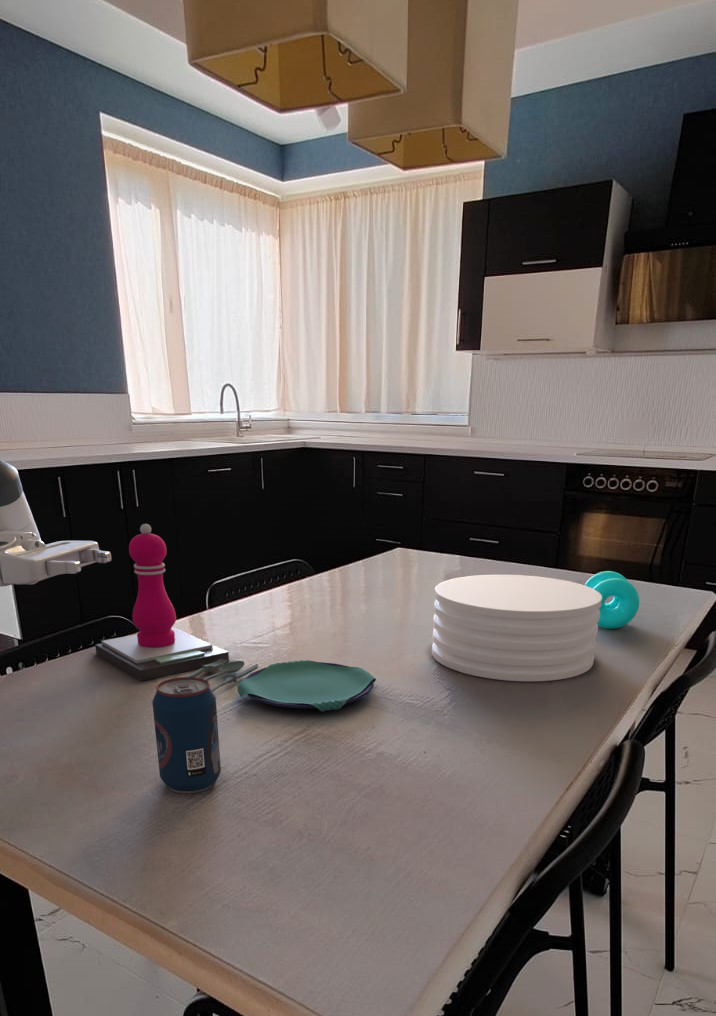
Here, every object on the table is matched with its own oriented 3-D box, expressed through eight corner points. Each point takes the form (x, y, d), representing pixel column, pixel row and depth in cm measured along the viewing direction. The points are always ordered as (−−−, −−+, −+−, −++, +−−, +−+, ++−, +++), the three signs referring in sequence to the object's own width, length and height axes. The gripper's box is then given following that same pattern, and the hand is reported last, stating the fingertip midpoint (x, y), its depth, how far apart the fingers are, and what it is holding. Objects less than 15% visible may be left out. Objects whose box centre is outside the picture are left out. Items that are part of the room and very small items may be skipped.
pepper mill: (183, 637, 136) (173, 521, 128) (170, 649, 129) (159, 527, 122) (143, 636, 137) (131, 520, 129) (128, 647, 130) (115, 526, 122)
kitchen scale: (96, 654, 134) (94, 641, 133) (179, 638, 144) (178, 626, 143) (141, 681, 122) (140, 666, 121) (229, 662, 131) (228, 648, 130)
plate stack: (475, 626, 154) (479, 568, 149) (614, 650, 139) (623, 587, 135) (402, 660, 133) (404, 594, 128) (558, 693, 118) (566, 620, 114)
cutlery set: (340, 727, 105) (340, 711, 104) (159, 695, 116) (158, 680, 115) (392, 683, 122) (393, 669, 121) (230, 658, 133) (230, 645, 132)
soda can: (155, 775, 91) (145, 679, 86) (213, 765, 94) (206, 672, 89) (167, 800, 85) (157, 699, 81) (228, 789, 88) (221, 691, 83)
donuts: (625, 618, 160) (633, 570, 156) (636, 631, 151) (644, 580, 147) (577, 616, 161) (582, 569, 157) (584, 629, 152) (591, 579, 148)
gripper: (60, 565, 143) (127, 569, 140) (-14, 588, 125) (62, 593, 122) (55, 530, 140) (123, 534, 137) (-21, 549, 122) (56, 553, 119)
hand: (94, 562), depth 129 cm, fingers open, 8 cm apart
